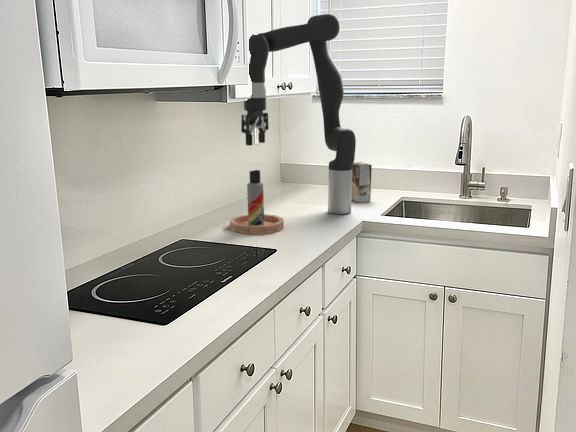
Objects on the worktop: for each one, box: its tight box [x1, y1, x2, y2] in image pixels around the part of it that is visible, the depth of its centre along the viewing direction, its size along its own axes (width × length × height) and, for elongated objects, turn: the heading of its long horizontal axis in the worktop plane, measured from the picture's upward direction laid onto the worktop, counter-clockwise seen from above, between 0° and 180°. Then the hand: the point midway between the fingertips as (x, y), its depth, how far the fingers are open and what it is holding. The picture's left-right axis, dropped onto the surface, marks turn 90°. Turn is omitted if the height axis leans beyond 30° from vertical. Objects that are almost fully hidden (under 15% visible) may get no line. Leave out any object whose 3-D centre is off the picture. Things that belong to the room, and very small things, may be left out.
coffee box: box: [351, 162, 373, 203], centre depth 250 cm, size 9×6×16 cm
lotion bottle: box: [246, 169, 265, 226], centre depth 204 cm, size 6×6×20 cm
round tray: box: [229, 213, 285, 235], centre depth 206 cm, size 19×19×3 cm
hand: (255, 144), depth 199 cm, fingers open, 8 cm apart
